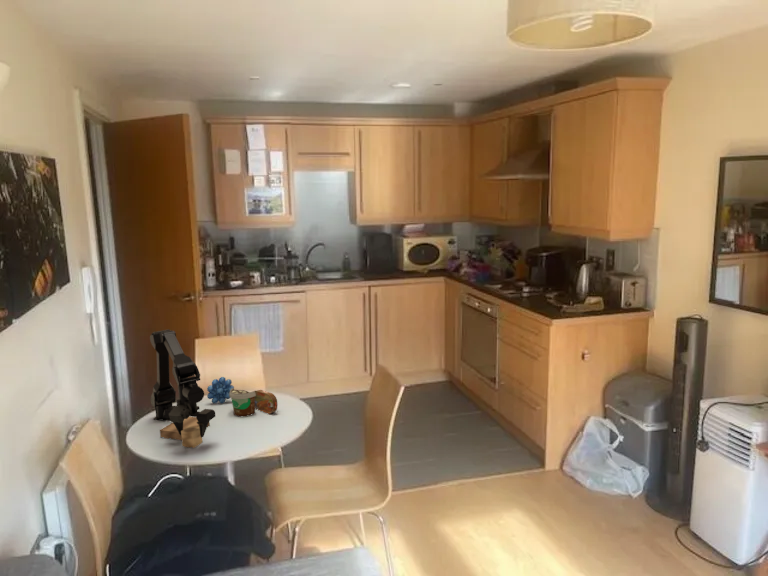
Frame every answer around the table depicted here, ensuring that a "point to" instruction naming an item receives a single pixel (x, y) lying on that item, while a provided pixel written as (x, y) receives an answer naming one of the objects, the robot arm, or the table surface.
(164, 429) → the walnut board
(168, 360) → the robot arm
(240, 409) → the food container
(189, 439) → the oak block
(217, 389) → the grapes
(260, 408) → the tin
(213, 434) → the table surface
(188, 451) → the table surface
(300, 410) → the table surface
